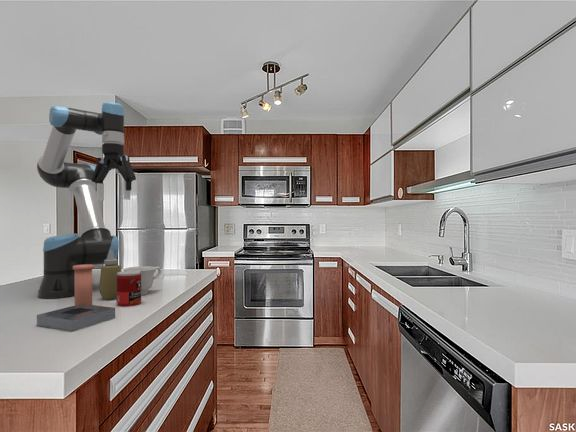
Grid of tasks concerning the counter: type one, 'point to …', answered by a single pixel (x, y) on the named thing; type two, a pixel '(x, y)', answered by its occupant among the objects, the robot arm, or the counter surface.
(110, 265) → the squeeze bottle
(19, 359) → the counter surface
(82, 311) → the flange block
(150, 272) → the teacup
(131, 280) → the canned food
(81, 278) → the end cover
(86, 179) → the robot arm
